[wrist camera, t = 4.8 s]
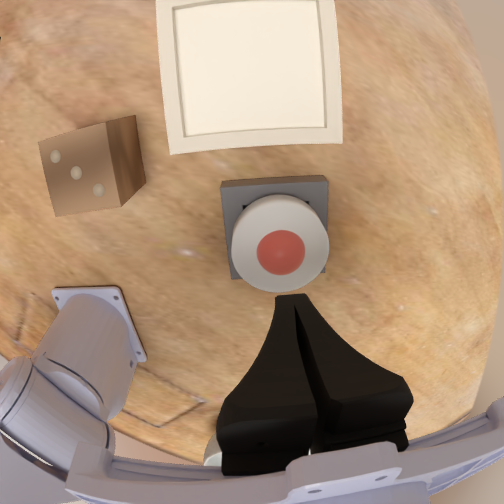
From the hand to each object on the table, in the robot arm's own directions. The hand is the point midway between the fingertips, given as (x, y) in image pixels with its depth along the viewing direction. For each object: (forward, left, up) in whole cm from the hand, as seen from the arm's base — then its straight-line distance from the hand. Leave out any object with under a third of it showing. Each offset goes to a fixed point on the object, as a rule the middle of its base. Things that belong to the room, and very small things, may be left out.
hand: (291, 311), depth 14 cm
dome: (0, 0, -9) cm, 9 cm away
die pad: (+12, +1, -10) cm, 15 cm away
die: (+7, +11, -10) cm, 16 cm away
